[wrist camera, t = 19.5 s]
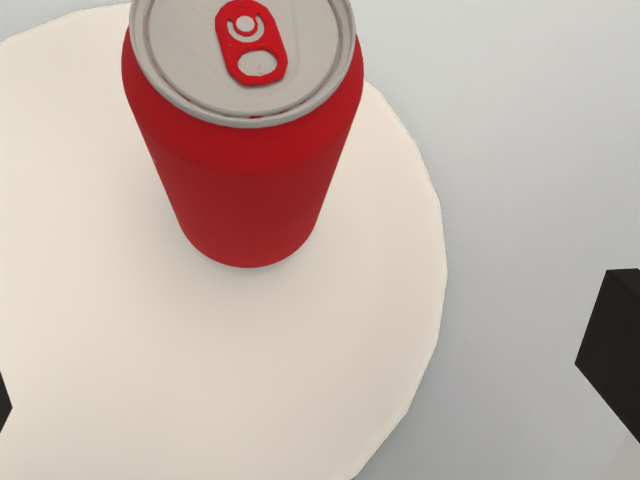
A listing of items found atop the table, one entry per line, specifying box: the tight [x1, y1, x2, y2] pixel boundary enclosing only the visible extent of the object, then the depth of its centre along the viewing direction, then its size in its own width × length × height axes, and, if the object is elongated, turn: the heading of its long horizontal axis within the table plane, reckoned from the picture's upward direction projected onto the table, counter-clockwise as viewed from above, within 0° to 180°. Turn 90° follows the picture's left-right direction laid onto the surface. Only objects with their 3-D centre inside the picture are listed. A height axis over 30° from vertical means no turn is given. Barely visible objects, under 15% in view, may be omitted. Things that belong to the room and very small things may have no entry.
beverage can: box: [121, 0, 364, 268], centre depth 18 cm, size 6×6×12 cm
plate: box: [0, 2, 448, 480], centre depth 23 cm, size 25×25×1 cm
